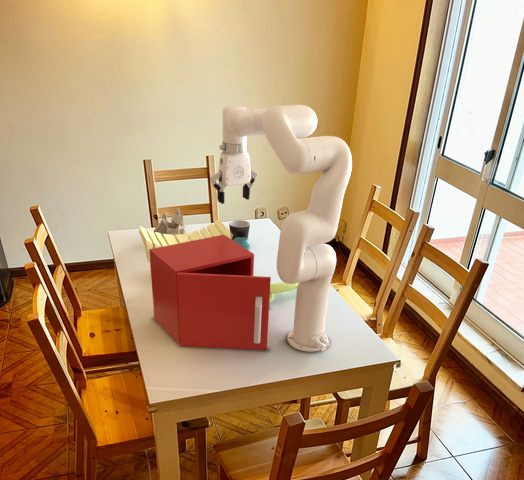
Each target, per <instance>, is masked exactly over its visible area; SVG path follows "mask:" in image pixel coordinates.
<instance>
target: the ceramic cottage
mask: <svg viewBox="0 0 524 480" xmlns="http://www.w3.org/2000/svg"><path fill="white" fill-rule="evenodd" d="M161 215H162V216H161V217H162V218H161V220H160V222H159V223H158V224H157V226H155V227H154V230H153V233H154V234H155V232H158V233H160V234H161V235H162V237H163V234H170V235H173V236H174V237H175V235H179V234H186V235H187V231H186V230H185V228H186V227H185V221H184V215H183V214H181V211H180V208H179V207H178V208H177V209H176V210H175V211H174V213H172V214H171V218H170V220H171V221H170V222H169V221H168V216H167V212H166V211H163V212H162V214H161ZM175 239H176V237H175ZM176 240H177V239H176ZM177 242H178V241H177ZM178 244H179V243H178Z"/></svg>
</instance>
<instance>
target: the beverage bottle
mask: <svg viewBox="0 0 524 480" xmlns="http://www.w3.org/2000/svg"><path fill="white" fill-rule="evenodd" d="M235 236H236V237H237V238H235V239H234V240H233V241H235V242H236V243H238V244H239V245H241V246H242V247H244V248H245V249H247V250H249V251H250V244H251V242H250V240H249V238H248V239H247V238H245V237H246V236H247V230H246V229H243V228H239V229H236V233H235Z"/></svg>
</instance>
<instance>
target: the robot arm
mask: <svg viewBox="0 0 524 480" xmlns="http://www.w3.org/2000/svg"><path fill="white" fill-rule="evenodd" d="M317 125H318V117H317V114H316V112H315V110H313V109H312V107H309V106H308V105H305V104H286V105H285V104H282V105H272V106H269V107H261V108H260V107H259V108H257V107H256V108H246V106H244V105H240V104H228V105H225V106H224V107H223V108H222V142H221V145H218V147H219V150H221V151H220V155H219V162H218V171H217V173H215V174H214V175H213V176H211V177H210V178H209V181H210V183H211V185H212V187H213V188H214V189H215V190H216V198H217V202H218V203H220V204H221V205H224V204H225V192H224V190H225V188H226V187H235V186H241V185H242V198H243V199H245V200H250V196H251V188H252V185H253V184H254V183H255V180H256V178H257V176H258V173H257V172H256V171H254V170H252V169H251V158H250V155H249V151H247V137H253V136H255V137H256V136H265V138H266V140H267V142H268V144H269V145H270V146H271V149H272V150H273V152H274V153H275V155H276V156H277V158H278V160H279V162H280V163H281V165H282V166H283V168H284V169H285V170H286V171H287V172H288V173H290V174H292V175H296V176H298V175H306V174H312V173H318V172H321V175H320V177H319V178H317V180H316V182H315V183H314V185H313V187H312V189H311V193H310V200H309V205H308V207H307V208H306V209H305V210H299V211H296V212H292V213H289V214H288V215H287V216H286V217H285V218H284V219H283V221H282V224H281V226H280V231H279V239H278V246H277V247H278V248H277V255H276V272H277V275H278V277H279V279H280V280H281V282H284V283H287V284H296V283H298V286H297V288H296V293H295V302H294V313H293V324H292V325H293V326H292V330H290V331H289V332H288V334H287V337H286V338H287V339H286V340H287V343H288V344H289V345H290V346H291V347H292V348H294V349H296V350H299V351H301V352H306V353H307V352H309V353H310V352H311V353H312V352H319V351H322V352H325V351H326V350H327V348H328V347H329V346H330V344H331V342H330V341H329V337H328V336H327V332H325V328H326V327H325V326H326V320H327V313H328V312H327V311H328V304H329V303H328V302H329V296H330V289H331V283H332V279H333V276H334V273H335V269H336V266H337V254H336V251H335V250H334V248H333V247H332V246H331V245H330V244H327V243H329V242H331V241H332V240H333V239H334V238H336V235H337V231H338V228H339V222H340V218H341V213H342V207H343V202H344V197H345V193H346V190H347V187H348V185H349V180H350V179H351V173H352V168H353V159H352V153H351V150H350V147H349V146H348V143H346V141H345V140H344V139H342V138H341V137H339V136H334V135H323V136H322V135H321V136H313V137H309V136H311V135H312V134H313V133H314V132H315V131H316V128H317ZM217 181H218V183H217Z"/></svg>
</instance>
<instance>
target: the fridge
mask: <svg viewBox="0 0 524 480" xmlns="http://www.w3.org/2000/svg"><path fill="white" fill-rule="evenodd" d="M149 253H150V262H149V264H150V279H151V292H152V305H153V307H152V308H153V319H154V320H155V321H156V322H157V323H158V324H159V325H160V326H161V327H162V328H163V330H165V332H167V333H168V334H169V335H170V336H171V337H172V338H173V339H174V341H176V343H177V344H178V345H180V331H179V309H178V287H177V273H199V274H220V275H241V276H254V269H255V268H254V266H255V264H254V263H255V254H254V253H253V252H252V251H251V250H250V249H249V250H247V249H245V248H244V247H242V246H241V245H239V244H238V243H236V242H235V241H233V240H232V239H230V238H228V237H227V236H225V235H219V236H214V237H209V238H203V239H199V240H194V241H189V242H184V243H179V244H174V245H169V246H163V247H158V248H153V249H149Z"/></svg>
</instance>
